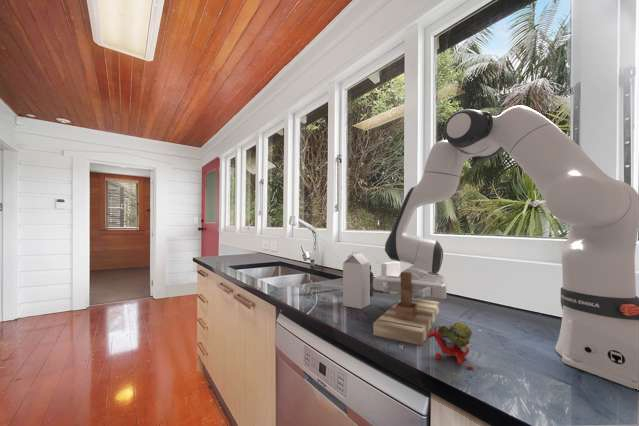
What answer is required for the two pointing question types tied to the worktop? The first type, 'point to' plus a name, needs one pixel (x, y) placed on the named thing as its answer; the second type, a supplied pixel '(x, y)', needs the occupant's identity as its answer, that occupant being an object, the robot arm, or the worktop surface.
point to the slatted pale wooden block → (407, 323)
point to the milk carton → (356, 281)
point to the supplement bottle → (371, 282)
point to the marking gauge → (406, 299)
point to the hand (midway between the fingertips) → (402, 291)
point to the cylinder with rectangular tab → (391, 269)
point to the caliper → (319, 287)
